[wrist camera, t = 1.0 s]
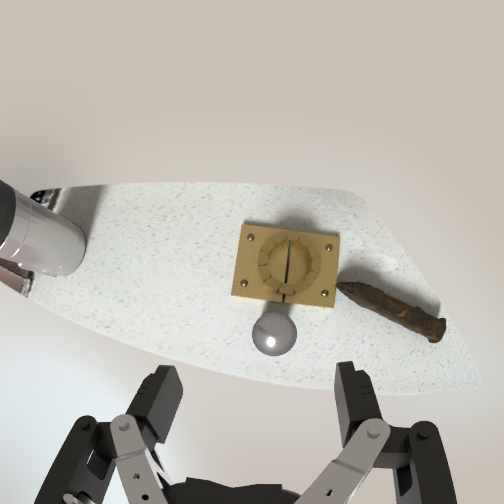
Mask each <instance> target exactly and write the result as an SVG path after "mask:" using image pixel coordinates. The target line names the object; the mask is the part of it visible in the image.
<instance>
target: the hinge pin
mask: <svg viewBox="0 0 504 504" xmlns="http://www.w3.org/2000/svg"><path fill="white" fill-rule="evenodd" d="M252 338H253V342H254V344H255V346H256V347H257V349H258V350H259V351H261V352H262V353H264V354H266V355H269V356H279V355H283V354H285V353H287V352H288V351H289V350H290V349H291V348H292V347H293V346H294V344H295V342H296V338H297V329H296V326H295V324H294V322H293V321H292V320H291V319H290V318H289V317H288V316H287V315H285V314H282V313H278V312H272V313H267V314H265V315H263V316H262V317H260V318H259V319H258V320H257V321H256V323H255V325H254V327H253V331H252Z"/></svg>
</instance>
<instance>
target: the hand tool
mask: <svg viewBox="0 0 504 504" xmlns="http://www.w3.org/2000/svg"><path fill="white" fill-rule="evenodd" d="M336 287H337V288H338V289H339V290H340V291H341V292H342V293H343V294H344V295H346V296H347V297H348V298H349V299H351V300H352V301H354V302H356V303H357V304H358V305H360V306H361V307H364V308H367V309H370V310H372V311H374V312H376V313H378V314H380V315H381V316H383V317H385V318H387V319H389V320H391V321H393V322H396V323H398V324H400V325H402V326H404V327H406V328H407V329H409V330H411V331H414V332H416V333H419V334H421V335H423V336H425V337H427V338H428V340H429V342H430V343H437V342H439V341H440V340H441V339H442V337H443V335H444V333H445V331H446V319H445V318H440V319H439V318H435V317H433V316H431V315H429V314H427V313H425V312H424V311H423V310H421V308H420V307H412V306H410V305H408V304H406V303H404V302H401V301H399V300H397V299H395V298H393V297H391V296H388V295H386V294H384V292H383V291H381V290H379V289H377V288H374V287H372V286H371V285H367V284H364V283H361V282H355V283H354V282H341V283H337V284H336Z"/></svg>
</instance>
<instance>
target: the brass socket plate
mask: <svg viewBox="0 0 504 504" xmlns="http://www.w3.org/2000/svg"><path fill="white" fill-rule="evenodd" d="M339 243H340V237H336V236H329V235H322V234H315V233H308V232H301V231H294V230H293V231H290V230H286V229H279V228H271V227H263V226H255V225H247V224H242V227H241V234H240V240H239V246H238V253H237V259H236V266H235V272H234V279H233V286H232V292H231V295H232V296H238V297H245V298H253V299H260V300H267V301H275V302H282V296H283V295H285V300H284V303H291V304H300V305H309V306H318V307H327V308H334V302H335V293H336V283H337V271H338V258H339ZM289 245H291V250H290V259H289V267H288V276H287V283H284V281H285V273H286V264H287V256H288V247H289Z"/></svg>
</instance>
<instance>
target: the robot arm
mask: <svg viewBox="0 0 504 504" xmlns="http://www.w3.org/2000/svg"><path fill="white" fill-rule="evenodd" d="M84 252H85V237H84V234H83V232H82V230H81V229H80V227H78V226H77V225H75V224H73V223H72V222H70V221H68V220H66V219H65V218H63V217H61V216H59V215H58V214H56V213H54V212H52V211H51V210H49V209H47V208H45V207H44V206H42V205H40V204H39V203H37V202H35V201H34V200H32V199H30V198H29V197H27V196H25V195H24V194H22V193H20V192H19V191H17V190H15V189H14V188H12V187H11V186H9V185H8V184H6V183H4V182H3V181H1V180H0V257H1V258H4V259H7V260H10V261H14V262H17V263H18V266H19V267H20V268H23V269H26V270H30V271H34V272H37V273H41V274H45V275H49V276H53V277H56V276H57V275H69V274H71V273H72V272H74V271H75V270H76V269H77V268H78V266H79V265H80V263H81V261H82V259H83V256H84ZM334 392H335V399H336V405H337V412H338V418H339V424H340V431H341V438H342V446H343V448H344V449H343V450H342V452H341V453H340V454H339V456H338V457H337V458H336V459H335V460H333V461H331V462H330V463H329V464H328V466H327V467H326V468H325V469H324V471H323V472H322V473H321V474H320V475H319V477H318V478H317V479H316V480H315V481H314V482H313V484H312V485H311V486H310V487H309V488H308V489H307V490H306V491H305V492H304V493H303V494H302V495H299V494H298V493H295V492H292V491H289V490H285V489H282V484H255V485H249V486H242V487H235V488H231V487H227V486H224V485H221V484H218V483H215V482H212V481H209V480H202V479H195V478H189V477H187V478H186V482H182V483H176V484H173V482H172V481H171V479H170V478H169V476H168V474H167V472H166V470H165V468H164V466H163V464H162V462H161V460H160V457H159V455H158V453H157V451H156V449H155V444H156V442H157V443H162V444H164V443H165V440H166V438H167V435H168V432H169V430H170V427H171V425H172V422H173V419H174V417H175V414H176V411H177V409H178V406H179V404H180V401H181V398H182V395H183V387H182V384H181V381H180V379H179V376H178V374H177V371H176V368H175V367H174V366H170V365H159V366H158V368H157V370H156V371H155V373H154V374H152V373H151V374H150V375H148V376H147V377H146V378H145V379H144V380H143V382H142V384H141V386H140V388H139V389H138V391H137V394H136V395H135V397H134V399H133V400H132V402H131V404H130V406H129V408H128V410H127V412H126V413H125V414H123V415H119V416H117V417H115V418H114V419H113V420H112V422H97V421H96V420H95V418H94V417H92V416H89V415H87V416H82V417H80V418H79V419H77V420H76V422H75V424H74V425H73V427H72V429H71V431H70V432H69V435H68V436H67V438H66V440H65V442H64V444H63V445H62V447H61V449H60V451H59V453H58V455H57V457H56V458H55V460H54V463H53V464H52V466H51V468H50V470H49V472H48V474H47V476H46V478H45V480H44V482H43V485H42V487H41V489H40V491H39V493H38V495H37V498H36V499H35V502H34V504H102V502H103V499H104V496H105V493H106V491H107V488H108V486H109V483H110V480H111V477H112V474H113V472H114V470H115V467H116V466H117V469H118V472H119V475H120V479H121V482H122V485H123V488H124V490H125V493H126V496H127V498H128V501H129V504H348V502H349V501H350V500H351V498H352V497H353V495H354V494H355V493H356V491H357V490H358V488H359V487H360V486H361V484H362V483H363V481H364V480H365V478H366V477H367V475H368V474H369V472H370V471H371V469H372V468H373V467H375V468H391V469H393V476H394V484H395V491H396V501H397V504H457V500H456V495H455V491H454V486H453V481H452V478H451V473H450V469H449V465H448V462H447V458H446V454H445V451H444V447H443V444H442V441H441V438H440V434H439V431H438V428H437V427H436V425H434V424H433V423H432V422H429V421H419V422H417V423H415V424H414V425H413V426H412V427H411V428H402V427H393V426H391V425H389V424H387V423H386V422H385V421H384V420H383V418H382V416H381V412H380V409H379V405H378V402H377V399H376V395H375V393H374V389H373V386H372V382H371V379H370V376H369V375H368V374H367V373H366V372H365V371H364V370H359V371H355V368H354V365H353V362H352V361H347V362H339V363H337V364H336V373H335V383H334ZM92 451H93V453H92ZM91 453H92V455H91ZM90 455H91V457H90ZM89 457H90V460H89V462H88V459H89ZM87 462H88V464H87Z"/></svg>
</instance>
